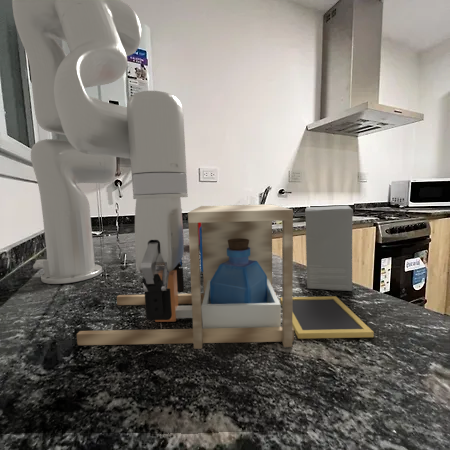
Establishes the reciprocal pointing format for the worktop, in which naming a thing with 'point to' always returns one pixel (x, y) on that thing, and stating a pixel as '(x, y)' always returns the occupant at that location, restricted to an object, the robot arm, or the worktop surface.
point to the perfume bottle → (238, 277)
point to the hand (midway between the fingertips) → (167, 303)
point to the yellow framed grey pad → (326, 319)
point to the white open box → (227, 310)
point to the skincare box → (329, 247)
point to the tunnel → (259, 251)
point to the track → (176, 331)
